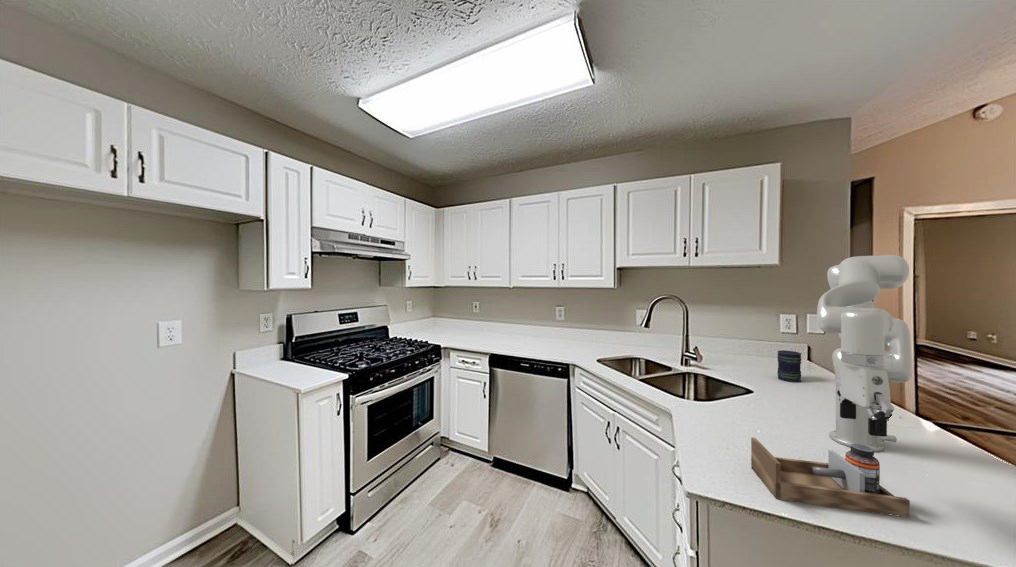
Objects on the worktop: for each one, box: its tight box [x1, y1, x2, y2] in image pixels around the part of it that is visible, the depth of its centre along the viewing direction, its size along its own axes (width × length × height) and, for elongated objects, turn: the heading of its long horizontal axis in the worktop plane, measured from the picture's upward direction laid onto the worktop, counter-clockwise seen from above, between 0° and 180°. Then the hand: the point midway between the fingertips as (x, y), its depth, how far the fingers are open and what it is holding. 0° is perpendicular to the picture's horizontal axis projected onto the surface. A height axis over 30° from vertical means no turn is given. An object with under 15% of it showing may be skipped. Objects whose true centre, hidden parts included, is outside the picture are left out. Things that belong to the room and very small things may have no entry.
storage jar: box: [776, 349, 802, 384], centre depth 178 cm, size 10×10×15 cm
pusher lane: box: [750, 437, 911, 518], centre depth 86 cm, size 26×14×9 cm, turn 74°
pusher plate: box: [812, 449, 865, 492], centre depth 85 cm, size 7×11×7 cm, turn 164°
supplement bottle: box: [844, 444, 881, 494], centre depth 84 cm, size 6×6×11 cm
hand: (861, 426), depth 84 cm, fingers open, 9 cm apart
